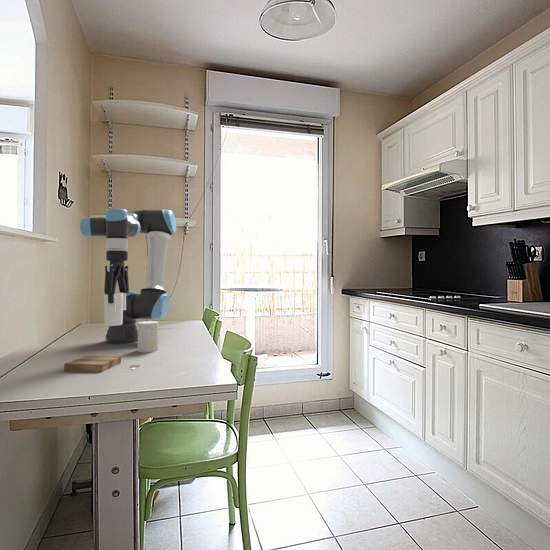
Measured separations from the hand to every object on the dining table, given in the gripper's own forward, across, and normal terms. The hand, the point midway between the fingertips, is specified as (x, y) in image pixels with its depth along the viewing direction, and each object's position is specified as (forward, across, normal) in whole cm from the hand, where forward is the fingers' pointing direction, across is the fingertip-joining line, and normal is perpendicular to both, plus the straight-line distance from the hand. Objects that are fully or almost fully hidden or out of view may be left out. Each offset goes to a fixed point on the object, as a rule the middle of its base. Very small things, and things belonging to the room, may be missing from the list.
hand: (117, 311), depth 156 cm
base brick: (+18, +15, -1) cm, 24 cm away
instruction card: (+18, +15, +13) cm, 26 cm away
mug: (+5, -1, -2) cm, 6 cm away
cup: (+18, -14, +6) cm, 24 cm away
